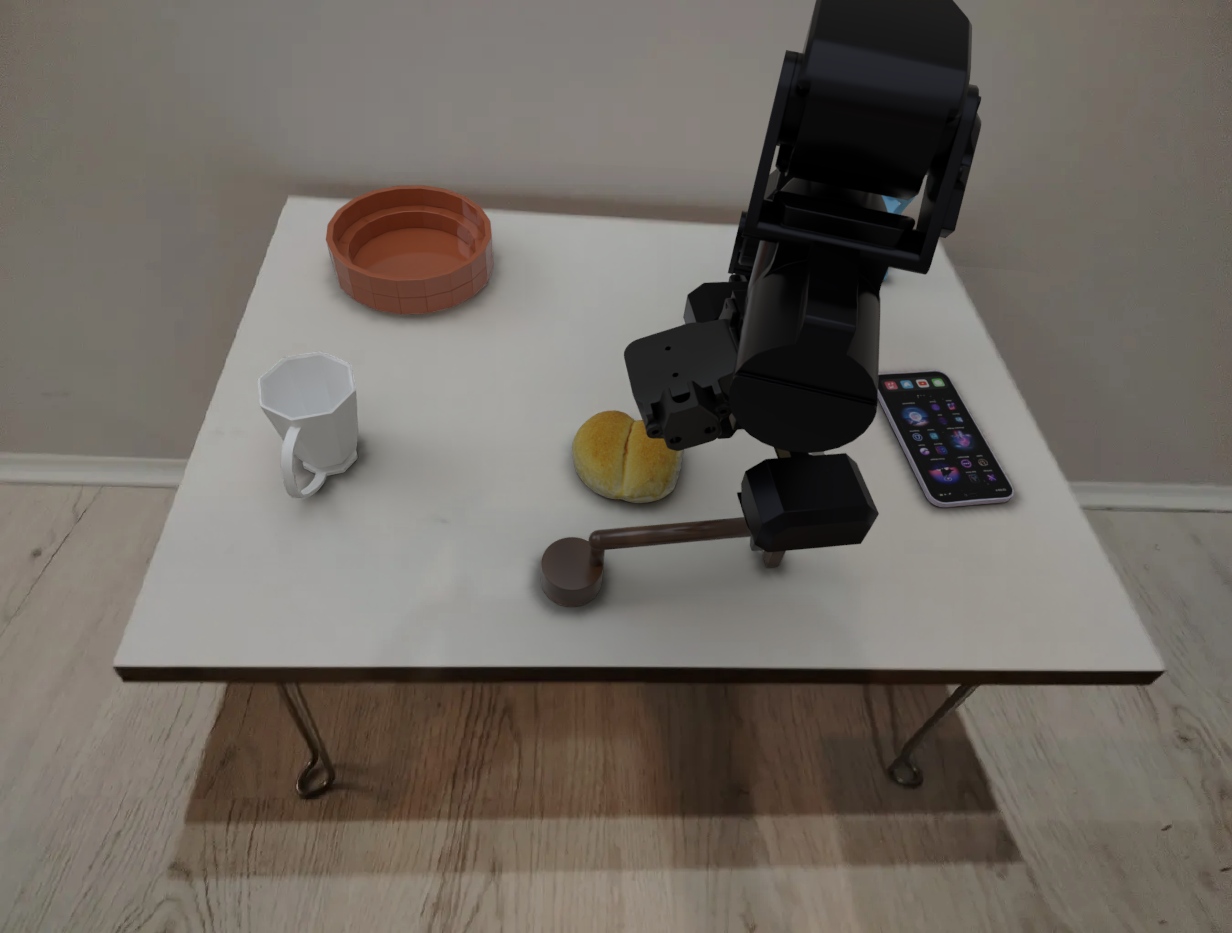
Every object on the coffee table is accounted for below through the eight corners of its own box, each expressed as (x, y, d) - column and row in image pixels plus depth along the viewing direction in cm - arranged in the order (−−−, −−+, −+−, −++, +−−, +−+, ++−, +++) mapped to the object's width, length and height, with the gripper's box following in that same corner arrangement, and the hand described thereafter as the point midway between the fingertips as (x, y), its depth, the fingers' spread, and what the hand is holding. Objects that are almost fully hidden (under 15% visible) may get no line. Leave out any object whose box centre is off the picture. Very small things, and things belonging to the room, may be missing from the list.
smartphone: (945, 369, 73) (1019, 497, 64) (942, 373, 73) (1015, 501, 64) (869, 373, 72) (934, 504, 63) (867, 378, 72) (931, 509, 63)
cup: (385, 426, 64) (368, 354, 58) (351, 526, 58) (329, 458, 52) (299, 418, 64) (274, 345, 58) (256, 517, 58) (222, 447, 51)
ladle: (777, 535, 60) (796, 491, 56) (794, 584, 58) (815, 542, 53) (538, 557, 57) (538, 512, 53) (544, 610, 55) (544, 568, 50)
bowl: (488, 222, 83) (486, 183, 80) (497, 315, 74) (496, 277, 70) (340, 225, 81) (331, 186, 77) (331, 322, 71) (320, 283, 68)
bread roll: (585, 417, 67) (588, 384, 63) (687, 442, 66) (695, 410, 63) (557, 491, 61) (558, 458, 58) (667, 519, 61) (674, 488, 57)
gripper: (616, 200, 44) (598, 394, 56) (686, 456, 32) (645, 630, 44) (804, 196, 45) (747, 386, 57) (934, 439, 34) (829, 611, 46)
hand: (739, 489), depth 51 cm, fingers open, 9 cm apart
